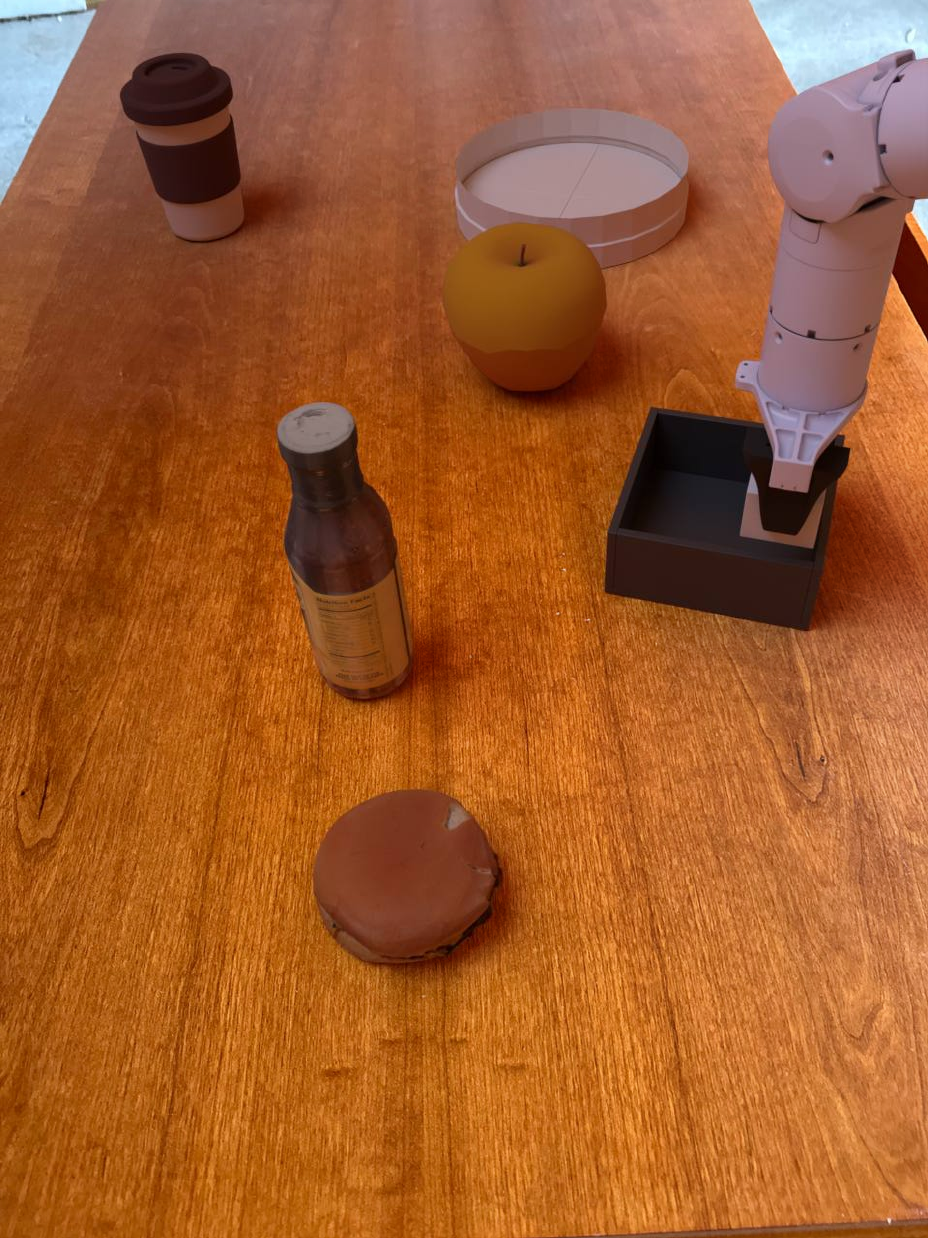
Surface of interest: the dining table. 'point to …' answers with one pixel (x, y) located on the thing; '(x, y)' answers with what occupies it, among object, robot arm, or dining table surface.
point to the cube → (754, 529)
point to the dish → (577, 179)
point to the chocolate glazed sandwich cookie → (405, 877)
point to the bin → (706, 527)
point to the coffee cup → (188, 142)
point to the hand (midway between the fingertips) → (785, 504)
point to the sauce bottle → (343, 556)
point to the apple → (525, 304)
